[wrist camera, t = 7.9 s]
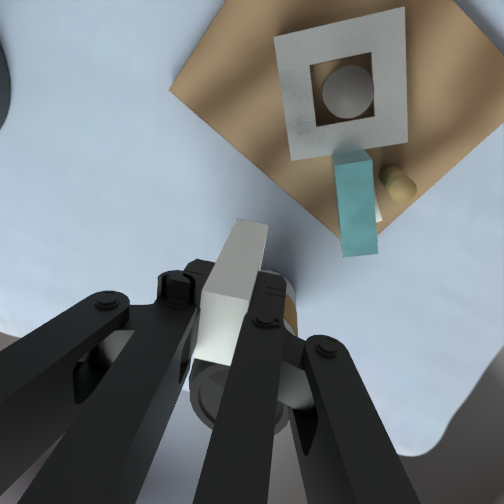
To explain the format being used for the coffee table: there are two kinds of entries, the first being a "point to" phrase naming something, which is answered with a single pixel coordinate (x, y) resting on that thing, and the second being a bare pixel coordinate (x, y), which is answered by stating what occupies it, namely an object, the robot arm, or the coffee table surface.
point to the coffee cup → (215, 375)
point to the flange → (351, 130)
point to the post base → (431, 92)
